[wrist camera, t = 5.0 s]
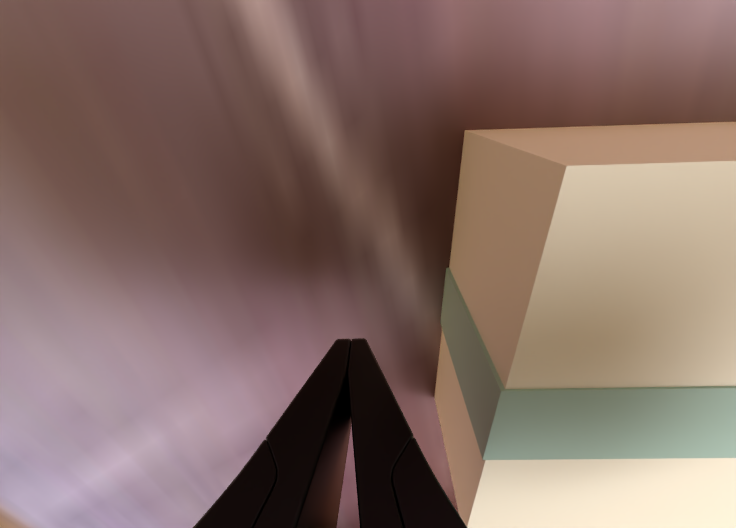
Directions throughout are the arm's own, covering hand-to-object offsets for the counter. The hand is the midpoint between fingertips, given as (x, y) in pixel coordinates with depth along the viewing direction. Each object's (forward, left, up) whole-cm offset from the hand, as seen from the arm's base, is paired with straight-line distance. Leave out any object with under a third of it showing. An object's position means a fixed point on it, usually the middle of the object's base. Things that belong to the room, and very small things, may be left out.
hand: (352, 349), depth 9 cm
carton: (+9, 0, -3) cm, 9 cm away
